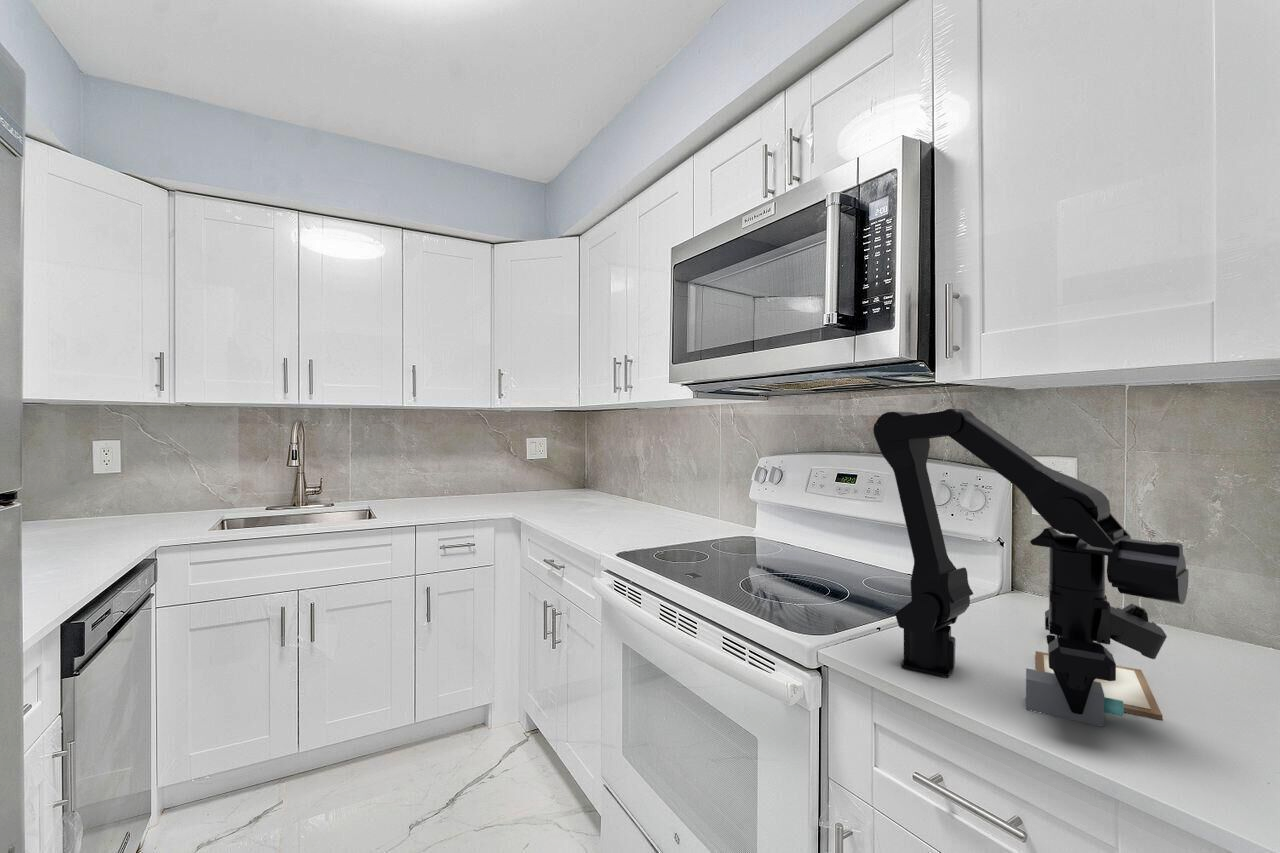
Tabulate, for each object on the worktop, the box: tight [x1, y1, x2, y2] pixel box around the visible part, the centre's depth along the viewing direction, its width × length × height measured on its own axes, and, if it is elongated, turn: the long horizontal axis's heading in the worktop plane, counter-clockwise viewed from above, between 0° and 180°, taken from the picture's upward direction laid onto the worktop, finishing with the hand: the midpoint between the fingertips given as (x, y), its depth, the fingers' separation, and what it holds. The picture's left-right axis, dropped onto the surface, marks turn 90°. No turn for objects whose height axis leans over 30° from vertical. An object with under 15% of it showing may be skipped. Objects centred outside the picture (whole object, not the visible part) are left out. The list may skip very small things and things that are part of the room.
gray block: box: [1025, 667, 1125, 728], centre depth 75 cm, size 10×4×4 cm, turn 57°
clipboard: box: [1035, 650, 1164, 721], centre depth 84 cm, size 13×16×2 cm
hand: (1075, 706), depth 75 cm, fingers closed on gray block, 4 cm apart
